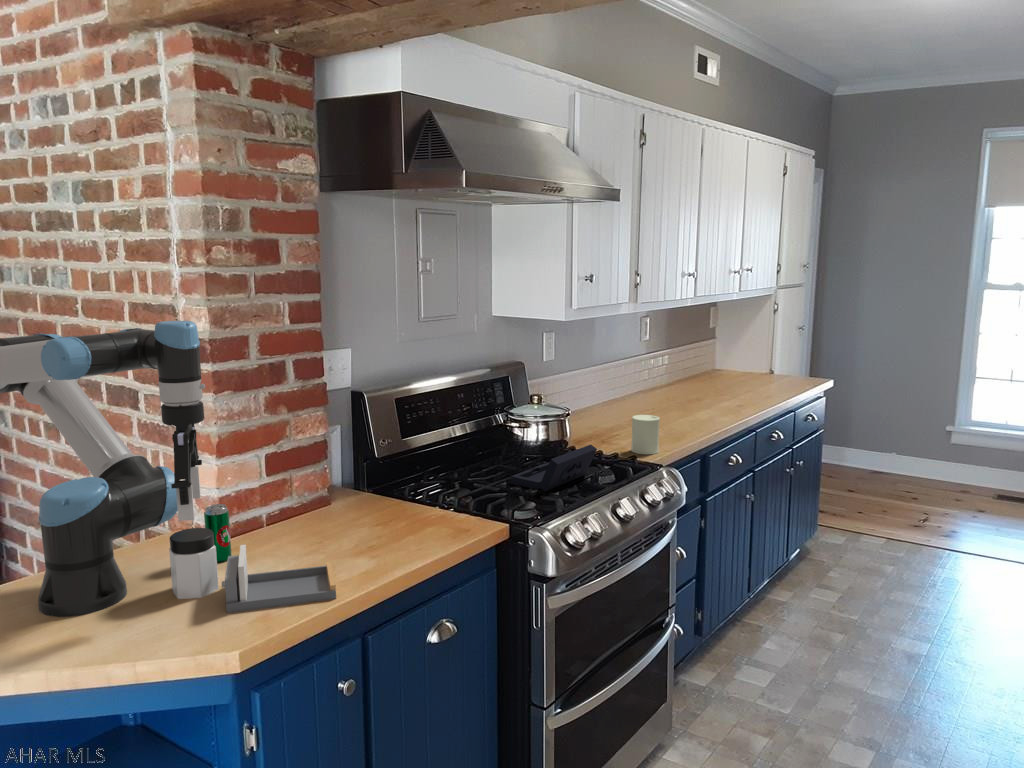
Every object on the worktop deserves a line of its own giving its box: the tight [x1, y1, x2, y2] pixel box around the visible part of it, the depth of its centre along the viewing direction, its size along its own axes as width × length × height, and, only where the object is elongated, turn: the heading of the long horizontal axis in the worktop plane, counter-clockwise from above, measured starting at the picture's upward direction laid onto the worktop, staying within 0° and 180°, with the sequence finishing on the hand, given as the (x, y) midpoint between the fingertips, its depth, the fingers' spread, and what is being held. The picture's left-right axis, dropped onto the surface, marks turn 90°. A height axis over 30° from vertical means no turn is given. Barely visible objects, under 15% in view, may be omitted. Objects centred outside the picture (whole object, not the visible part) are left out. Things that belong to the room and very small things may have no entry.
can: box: [630, 414, 661, 456], centre depth 264 cm, size 9×9×12 cm
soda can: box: [203, 503, 233, 564], centre depth 173 cm, size 5×5×12 cm
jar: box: [168, 527, 220, 600], centre depth 157 cm, size 9×8×12 cm
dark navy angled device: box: [510, 444, 598, 492], centre depth 232 cm, size 21×16×10 cm
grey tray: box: [224, 555, 337, 614], centre depth 156 cm, size 20×13×7 cm, turn 107°
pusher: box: [221, 544, 248, 601], centre depth 153 cm, size 4×11×8 cm, turn 17°
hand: (190, 508), depth 155 cm, fingers open, 13 cm apart
